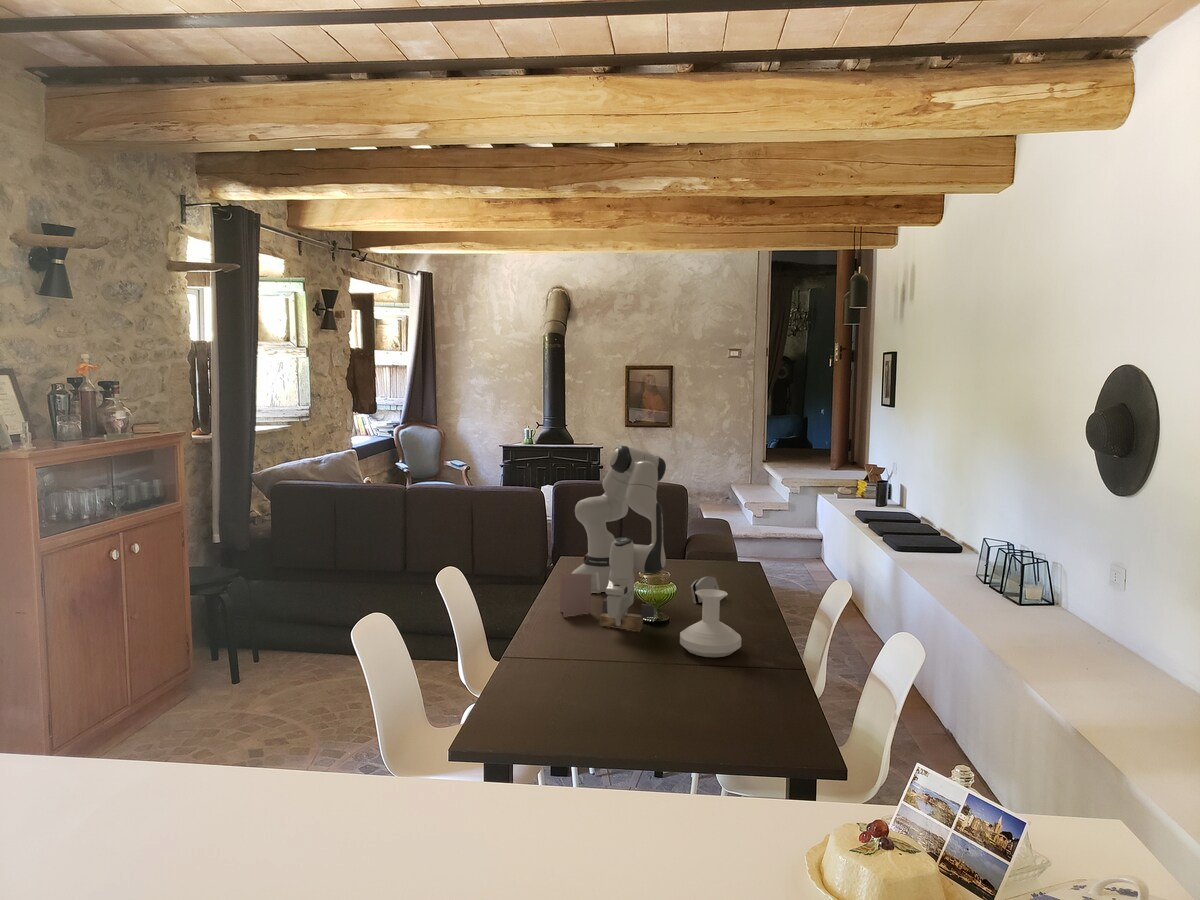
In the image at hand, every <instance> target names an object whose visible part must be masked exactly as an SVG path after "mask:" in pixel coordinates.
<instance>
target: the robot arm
mask: <svg viewBox="0 0 1200 900" xmlns="http://www.w3.org/2000/svg"><path fill="white" fill-rule="evenodd" d="M609 464H610V467H609V469H608V471H607V473H606V475H605V477H603V480H602V489H603V491H604V492H603V494H602V495H599V496H590V497H586V498H583V499H580V500H579V501H577V503H576V504H575V507H574V515H575V518H576V519H577V521H578V522H579V523H580V524H582V526H583V527H584V529H585V532H586V536H587V551H588V552H587V553H586V554H585V555H584V556H583V557H582V561H583V563H582V564H581V565H579V566H578V567H577V568H575V569H574V570H573V571H572V572H571V573H570V574H591V594H592V593H597V594H601V592H605V594H606V595H607V597H606V598H607V612H608V616H609V617H615V621H616V626H620V625H621V624H622V620H621V616H626V615H627V613H628V611H629V608H630V607H631V606H632V605H633V604H634V601H635V598H634V597H635V595H634V594H635V593H634V591H635V573H634V572H640V573H646V574H651V575H656V574H659V573H660V572H661V571H662V570H664V569H665V568H666V567H665V566H666V553H665V552H666V551H665V520H664V512H663V511H664V510H663V506H662V505H661V503H659V502H658V500H657V491H658V485H659V482H660V481H661V480H662V479H663V478H664V476H665V473H666V468H667V464H666V462H665V459H664V458H662V457H661V456H659V455H654V454H653V453H650V452H647V451H645V450H641V449H637V448H632V447H629V446H627V445H618V446H617V447H616V448H614V449H613V451H612V453H611V455H610V461H609ZM629 508H630V509H631V510H632V511H634V512H635V513H637V514H638V515H640V516H643V517H645V519H646V518H647V519H648V521H650V523H651V524H650V525H651V543H650V544H638V543H637V544H636V543H634V542H633V539H631V538H630V537H625V536H624V537H623V536H622V537H618V538H615V535H613V533H611V532H610V531H609V530H608V529H607V522H615V521H618V520H620V519H622V518H624V517H626V516H627V515H628V511H629Z"/></svg>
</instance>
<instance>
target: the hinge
mask: <svg viewBox="0 0 1200 900" xmlns="http://www.w3.org/2000/svg"><path fill="white" fill-rule="evenodd" d="M701 589H716V590H721V589H720V585H719V583H718V581H717V578H716V577H714V576H703V577H700V578H699V579H696V580H694V581H693V583H692V584H691V585H690V592H691V596H692V601H693V604H694V603H695V605H696V604H697V603H703V599H701V598H700V597H699V596H698V595H697V594H696V593H695V591H697V590H701Z"/></svg>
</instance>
